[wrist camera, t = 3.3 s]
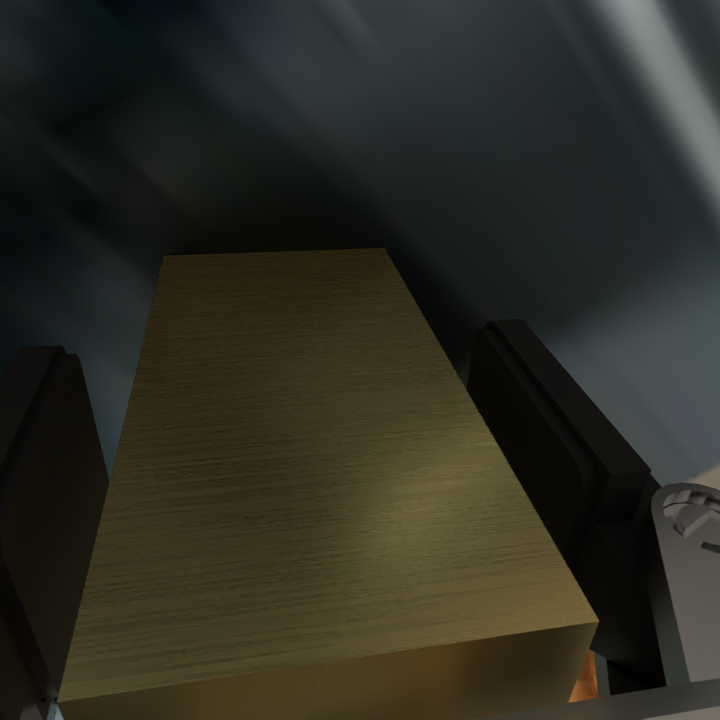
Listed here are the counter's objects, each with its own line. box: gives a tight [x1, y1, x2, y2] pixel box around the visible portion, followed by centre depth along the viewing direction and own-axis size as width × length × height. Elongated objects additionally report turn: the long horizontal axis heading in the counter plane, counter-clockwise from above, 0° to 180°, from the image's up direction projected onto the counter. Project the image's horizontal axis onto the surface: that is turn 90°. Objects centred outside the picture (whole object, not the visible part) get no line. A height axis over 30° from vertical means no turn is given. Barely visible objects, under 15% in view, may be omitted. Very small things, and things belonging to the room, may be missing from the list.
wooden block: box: [57, 248, 599, 720], centre depth 9 cm, size 4×4×8 cm
